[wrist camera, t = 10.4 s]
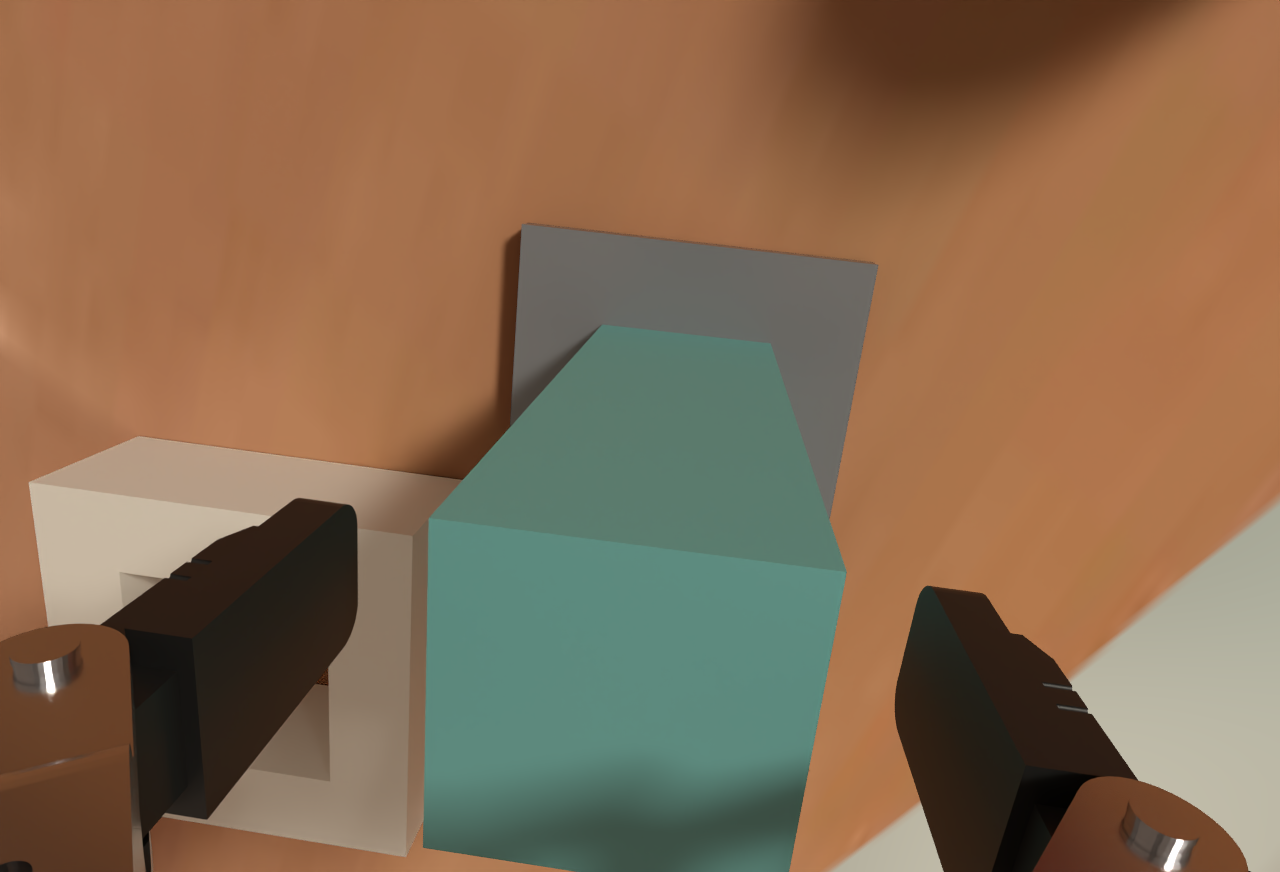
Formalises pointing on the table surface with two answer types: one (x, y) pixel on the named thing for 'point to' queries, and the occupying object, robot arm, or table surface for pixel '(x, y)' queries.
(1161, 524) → the table surface
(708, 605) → the block
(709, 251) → the coaster
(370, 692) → the pocket block
